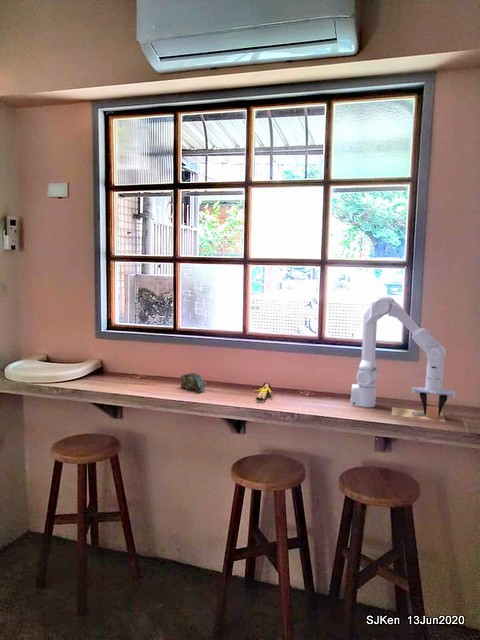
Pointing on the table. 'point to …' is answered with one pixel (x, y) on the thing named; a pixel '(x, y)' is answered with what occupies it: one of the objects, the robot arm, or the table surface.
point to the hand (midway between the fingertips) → (431, 414)
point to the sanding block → (432, 410)
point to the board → (414, 414)
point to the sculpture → (193, 382)
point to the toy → (263, 392)
